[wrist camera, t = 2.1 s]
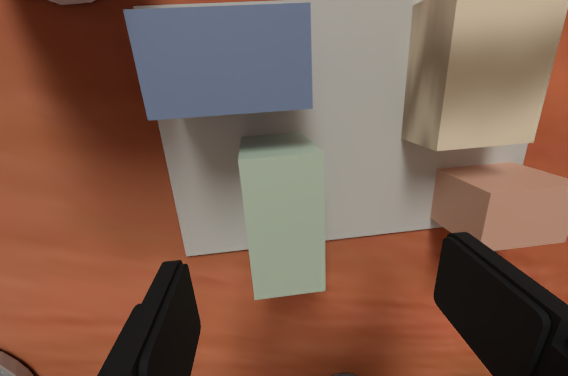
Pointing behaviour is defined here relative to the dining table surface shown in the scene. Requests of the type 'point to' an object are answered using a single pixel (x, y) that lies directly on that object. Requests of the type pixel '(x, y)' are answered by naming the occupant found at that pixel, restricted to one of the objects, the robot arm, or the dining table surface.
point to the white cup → (71, 1)
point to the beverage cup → (344, 374)
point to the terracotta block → (502, 204)
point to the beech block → (479, 71)
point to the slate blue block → (222, 59)
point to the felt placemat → (324, 136)
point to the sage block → (284, 213)
